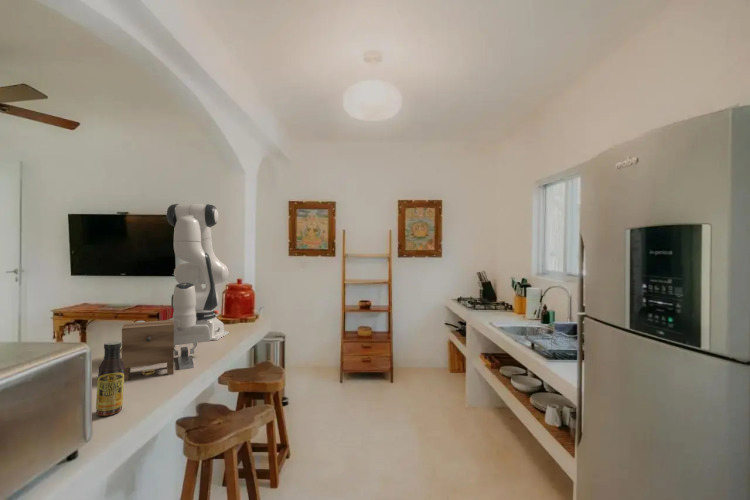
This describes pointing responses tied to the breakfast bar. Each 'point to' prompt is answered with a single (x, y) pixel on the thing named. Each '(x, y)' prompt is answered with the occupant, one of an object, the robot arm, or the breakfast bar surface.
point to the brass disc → (148, 372)
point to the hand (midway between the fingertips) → (184, 354)
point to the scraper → (185, 359)
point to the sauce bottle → (110, 381)
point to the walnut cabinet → (148, 345)
